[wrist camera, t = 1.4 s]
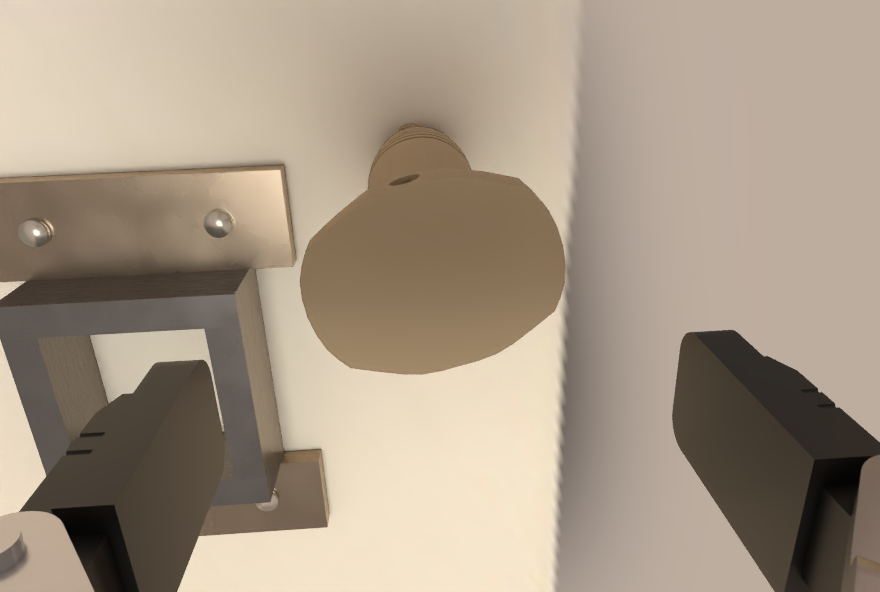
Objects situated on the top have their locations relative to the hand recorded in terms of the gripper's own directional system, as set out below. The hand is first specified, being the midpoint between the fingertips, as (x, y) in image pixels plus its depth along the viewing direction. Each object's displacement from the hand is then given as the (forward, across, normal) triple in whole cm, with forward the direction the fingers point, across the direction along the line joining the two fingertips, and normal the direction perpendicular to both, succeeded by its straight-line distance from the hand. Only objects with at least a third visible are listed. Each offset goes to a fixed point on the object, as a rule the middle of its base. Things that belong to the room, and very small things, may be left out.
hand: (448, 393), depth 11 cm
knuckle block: (+20, +13, +10) cm, 26 cm away
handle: (+20, 0, 0) cm, 20 cm away
